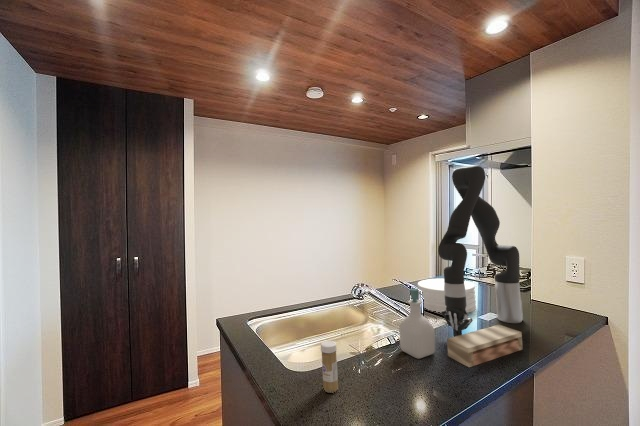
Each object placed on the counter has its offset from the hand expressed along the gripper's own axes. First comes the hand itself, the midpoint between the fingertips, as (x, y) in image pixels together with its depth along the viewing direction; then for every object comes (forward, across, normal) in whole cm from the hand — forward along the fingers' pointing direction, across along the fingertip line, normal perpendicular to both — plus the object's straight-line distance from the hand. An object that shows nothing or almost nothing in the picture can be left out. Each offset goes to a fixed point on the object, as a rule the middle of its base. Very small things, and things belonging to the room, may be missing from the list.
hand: (457, 338), depth 112 cm
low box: (+1, -12, 0) cm, 12 cm away
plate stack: (+1, +34, -31) cm, 46 cm away
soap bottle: (+1, 0, +20) cm, 20 cm away
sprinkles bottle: (+1, -5, +57) cm, 58 cm away
